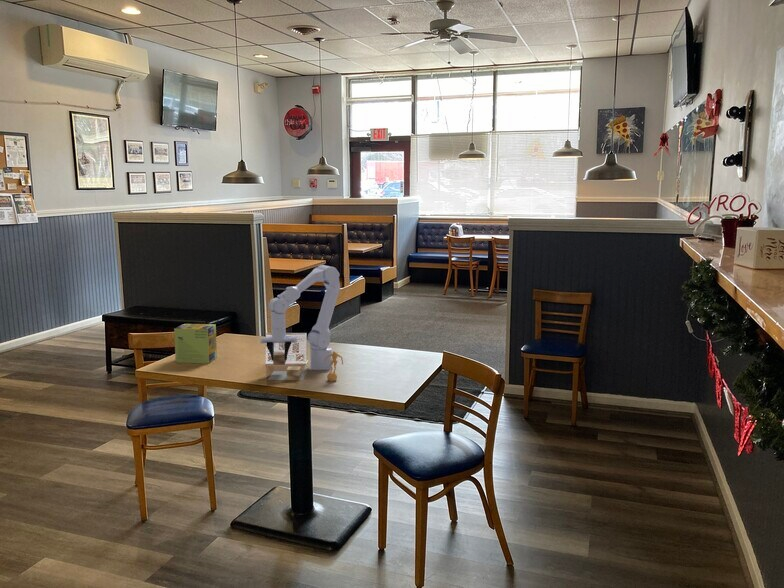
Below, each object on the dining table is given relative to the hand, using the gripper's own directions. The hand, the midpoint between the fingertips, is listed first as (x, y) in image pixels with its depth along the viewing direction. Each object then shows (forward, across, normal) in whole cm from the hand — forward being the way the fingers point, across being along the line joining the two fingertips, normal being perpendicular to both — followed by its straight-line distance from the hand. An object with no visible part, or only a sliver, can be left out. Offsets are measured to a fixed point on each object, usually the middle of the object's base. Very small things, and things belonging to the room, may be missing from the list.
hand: (279, 359), depth 251 cm
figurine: (+7, -22, +10) cm, 25 cm away
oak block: (+6, -6, +6) cm, 11 cm away
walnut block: (+1, 0, 0) cm, 1 cm away
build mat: (+6, -4, +3) cm, 8 cm away
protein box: (+6, +40, -24) cm, 47 cm away
